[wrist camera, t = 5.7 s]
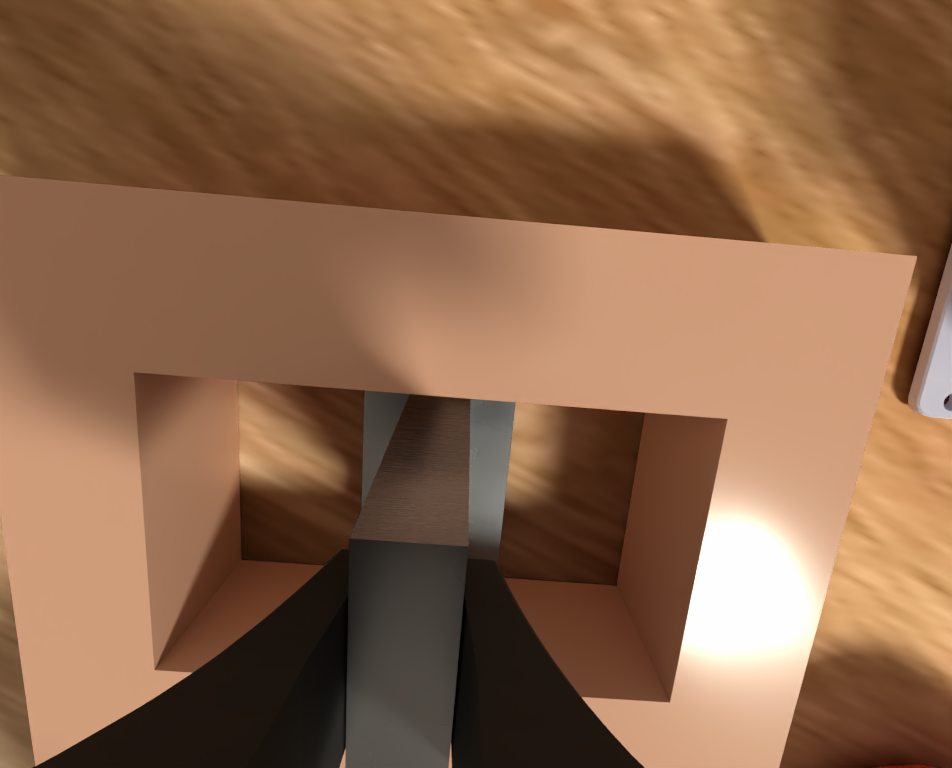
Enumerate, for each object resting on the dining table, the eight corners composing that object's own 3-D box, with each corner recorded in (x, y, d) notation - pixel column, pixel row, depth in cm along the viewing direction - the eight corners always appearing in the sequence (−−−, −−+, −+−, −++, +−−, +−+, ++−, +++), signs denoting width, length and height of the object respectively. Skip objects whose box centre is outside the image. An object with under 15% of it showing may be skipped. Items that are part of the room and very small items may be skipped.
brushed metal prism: (512, 388, 15) (557, 552, 7) (496, 541, 16) (518, 821, 8) (372, 378, 14) (259, 531, 7) (368, 532, 16) (269, 808, 8)
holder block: (777, 259, 14) (917, 255, 10) (689, 682, 17) (763, 825, 13) (120, 202, 14) (-48, 170, 9) (151, 648, 17) (37, 783, 12)
